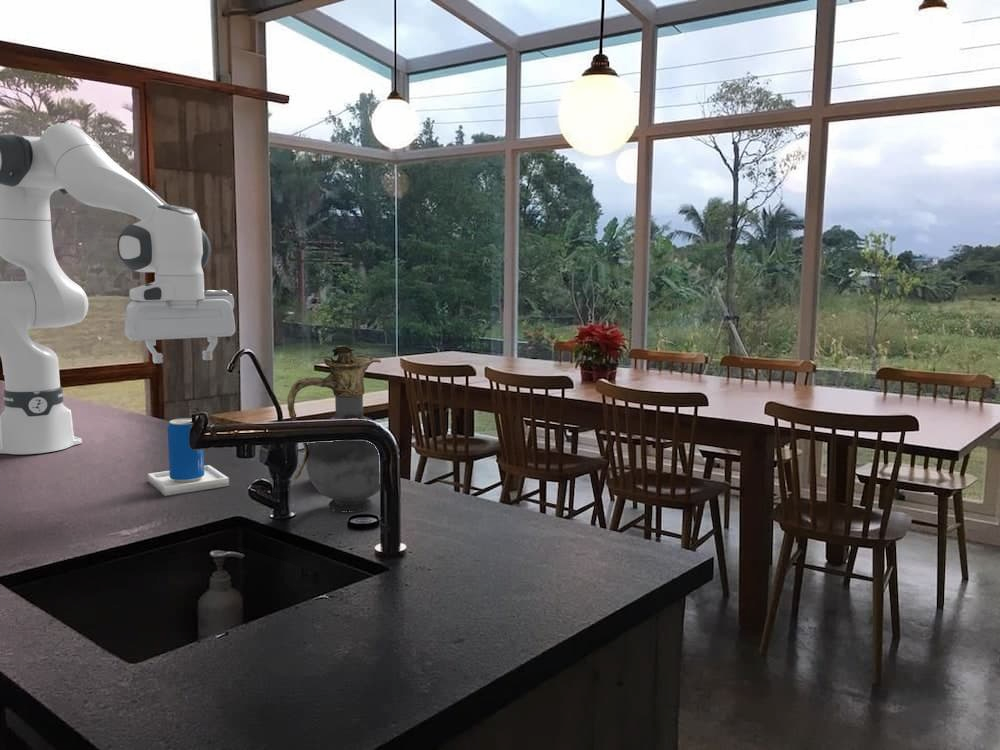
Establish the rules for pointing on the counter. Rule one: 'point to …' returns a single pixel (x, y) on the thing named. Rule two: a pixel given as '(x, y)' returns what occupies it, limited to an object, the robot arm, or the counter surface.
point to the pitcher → (342, 464)
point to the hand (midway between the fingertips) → (183, 361)
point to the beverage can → (183, 453)
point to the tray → (171, 487)
